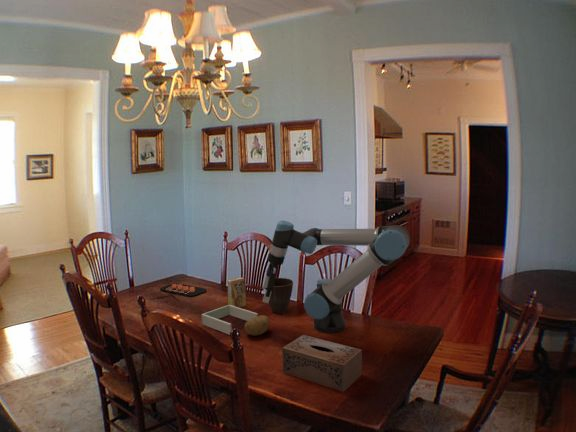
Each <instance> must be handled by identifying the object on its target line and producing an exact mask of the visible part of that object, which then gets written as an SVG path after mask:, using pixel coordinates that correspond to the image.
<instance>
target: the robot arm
mask: <svg viewBox="0 0 576 432" xmlns="http://www.w3.org/2000/svg"><path fill="white" fill-rule="evenodd" d="M294 227H295V225H294V224H293V223H292V222H290V221H287V220H279V221H278V222H277V224H276V227H275V229H274V233H273V237H272V240H271V244H269V246H268V247H269V252H268V256H267V258H266V259H267V261H268V263H269V265H268V266H267V270H266V274H265V277H264V281H263V285H262V290H265V292H264V295H263V297H262V303H265V304H269V299H270V296H271V292H272V291H273V287H274V283H275V278H277V273H278V270H279V266H281V265H284V261H285V258H286V257H285V256H286V254H287V252H288V247H291V248H294V249H296V250H298V251H300V252H303V253H306V254H307V255H310V254H313V253H314V251H315V250H316V248H317V246H361V247H362V246H363V247H364V246H365V247H366V246H367V247H368V249H367V250H366V251H364V252H363V253H362V254H361V255H360V256H359V257H357V258H356V259H355V260H353V262H352V263H351V264H348V266H346V267H345V268H344V269H343V270H341V272H340V273H338V274H337V275H336V276H335V277H333V278H321V279H318V280H317V281H316V284H315V285H316V288H315V289H314V290H313V291H312V292H310V293H309V294H307V296H306V297H305V299H304V302H303V303H304V304H303V305H304V310H305V312H306V314H308V315H309V317H311V318H312V319H314V320H313V328H314V330H315V331H317V332H319V333H325V334H335V333H336V334H337V333H340V332H343V331H344V330H345V329H346V320H345V318H344V315H343V310H342V309H343V308H342V307H343V306H342V305H343V299H342V298H344V297H345V296H346V295H347V294H349V293H350V292H351V291H352V290H354V289H355V288H356V287H357V286H359V285H360V284H361V283H362V282H363V281H364V280H366V279H367V278H369V276H371V275H372V274H373V273H374V272H375V271H377V270H378V269H379V268H381V267H382V266H385V267H388V266H389V265H390V264H392V263H393V262H394V261H395V260H398V259H400V257H403V255H404V254H405V253H406V250H407V249H408V247H409V246H410V244H411V235H410V233H409V231H408V230H407V229H406V228H405V227H403V226H401V225H385V226H384V225H382V226H378V227H376V228H318V227H313V228H309V229H308V230H306V231H304V232H300V231H298V230H295V229H294ZM269 287H270V288H269Z"/></svg>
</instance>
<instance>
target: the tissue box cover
mask: <svg viewBox="0 0 576 432" xmlns="http://www.w3.org/2000/svg"><path fill="white" fill-rule="evenodd" d="M281 350H282V351H281V352H282V353H281V354H282V373H284V374H287V375H290V376H293V377H297V378H299V379H303V380H305V381H309V382H311V383H315V384H318V385H321V386H325V387H327V388H330V389H333V390H336V391H340V392H343V393H344V392H345V391H347V389H348V388H350V386H352V385H353V384H354V383H355V381H357V380H358V379H359V378H360V377H361V376H362V375H363V372H362V371H363V367H362V366H363V350H362V349H361V348H357V347H356V348H355V347H352V346H348V345H345V344H341V343H337V342H333V341H330V340H325V339H321V338H317V337H313V336H310V335H306V334H302V335H300V336H299V337H297V338H296V339H294V340H293V341H291V342H289V343H288V344H286V345H284V346H283V347H282V349H281Z"/></svg>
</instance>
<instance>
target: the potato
mask: <svg viewBox="0 0 576 432" xmlns="http://www.w3.org/2000/svg"><path fill="white" fill-rule="evenodd" d="M269 325H270V318H269V317H268V316H267V315H263V314H262V315H261V314H260V315H258V317H254V318H252V319H250V320H249V321H246V322H245V324H244V330H245V332H246V334H248V335H250V336H254V337H256V336H261V335H263V334H264V333H266V332H267V330H268V327H269Z"/></svg>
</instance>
